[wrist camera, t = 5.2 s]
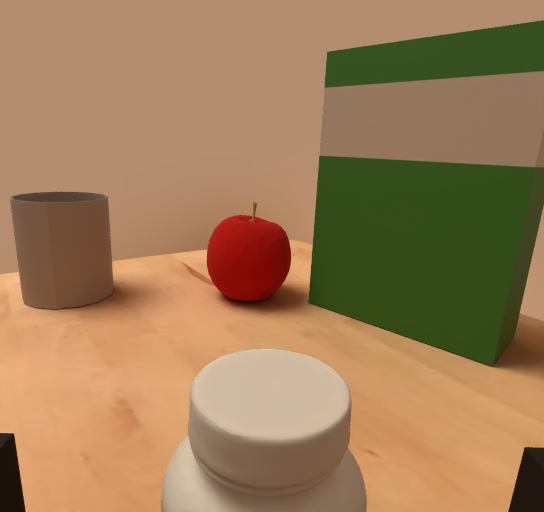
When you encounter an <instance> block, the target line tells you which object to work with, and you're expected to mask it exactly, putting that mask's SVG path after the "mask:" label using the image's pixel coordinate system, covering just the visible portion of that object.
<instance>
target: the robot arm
mask: <svg viewBox="0 0 544 512" xmlns="http://www.w3.org/2000/svg"><path fill="white" fill-rule="evenodd" d="M0 512H25V505H24V498H23V491H22V484H21V478H20V471H19V464H18V457H17V450H16V444H15V437H14V434H12V433H0ZM508 512H544V448H533V447H525V448H524V452H523V456H522V460H521V464H520V468H519V472H518V476H517V480H516V484H515V488H514V492H513V496H512V500H511V504H510V508H509V511H508Z"/></svg>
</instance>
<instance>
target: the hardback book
mask: <svg viewBox="0 0 544 512" xmlns="http://www.w3.org/2000/svg"><path fill="white" fill-rule="evenodd" d="M543 205H544V21H536V22H529V23H522V24H516V25H509V26H502V27H495V28H488V29H481V30H474V31H467V32H460V33H454V34H447V35H440V36H433V37H426V38H419V39H412V40H405V41H399V42H392V43H385V44H378V45H372V46H364V47H357V48H350V49H344V50H337V51H330V52H327V63H326V77H325V90H324V103H323V116H322V130H321V143H320V157H319V170H318V183H317V197H316V210H315V224H314V237H313V250H312V264H311V277H310V291H309V303H312V304H315V305H318V306H320V307H323V308H326V309H329V310H332V311H335V312H338V313H340V314H343V315H346V316H349V317H352V318H355V319H358V320H361V321H363V322H366V323H369V324H372V325H375V326H378V327H381V328H383V329H386V330H389V331H392V332H395V333H398V334H401V335H404V336H406V337H409V338H412V339H415V340H418V341H421V342H424V343H426V344H429V345H432V346H435V347H438V348H441V349H444V350H446V351H449V352H452V353H455V354H458V355H461V356H464V357H467V358H469V359H472V360H475V361H478V362H481V363H484V364H487V365H489V366H492V367H493V366H494V364H495V363H496V361H497V360H498V359H499V357H500V356H501V354H502V353H503V352H504V350H505V349H506V347H507V346H508V345H509V343H510V342H511V340H512V339H513V338H514V335H515V331H516V326H517V322H518V317H519V313H520V308H521V304H522V299H523V295H524V290H525V286H526V281H527V277H528V272H529V268H530V264H531V259H532V255H533V250H534V246H535V241H536V237H537V232H538V228H539V223H540V219H541V214H542V210H543Z"/></svg>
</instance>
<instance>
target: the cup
mask: <svg viewBox="0 0 544 512" xmlns="http://www.w3.org/2000/svg"><path fill="white" fill-rule="evenodd" d="M10 203H11V211H12V219H13V226H14V234H15V242H16V250H17V258H18V266H19V274H20V282H21V290H22V298H23V300H24V303H25V304H27V305H30V306H33V307H36V308H45V309H63V308H72V307H80V306H84V305H88V304H92V303H95V302H99V301H101V300H103V299H104V298H106V297H108V296H110V295H111V293H112V291H113V289H114V288H113V272H112V256H111V241H110V224H109V209H108V197H107V196H105V195H103V194H95V193H84V192H41V193H28V194H20V195H15V196H12V197H10Z"/></svg>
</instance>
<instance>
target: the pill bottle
mask: <svg viewBox="0 0 544 512" xmlns="http://www.w3.org/2000/svg"><path fill="white" fill-rule="evenodd" d="M350 420H351V395H350V391H349V388H348V385H347V383H346V382H345V380H344V379H343V378H342V376H341V375H340V374H339V373H338V372H336V371H335V370H334V369H333V368H332V367H330V366H329V365H327V364H325V363H324V362H322V361H320V360H318V359H316V358H314V357H311V356H308V355H304V354H301V353H297V352H293V351H288V350H281V349H268V348H267V349H252V350H243V351H239V352H235V353H231V354H227V355H225V356H222V357H220V358H217V359H216V360H214V361H212V362H211V363H209V364H207V365H206V366H205V367H204V368H203V369H202V370H201V371H200V372H199V373H198V375H197V376H196V378H195V379H194V381H193V384H192V388H191V393H190V415H189V423H188V436H187V437H186V438H185V439H184V440H183V441H182V443H181V444H180V445H179V447H178V448H177V450H176V451H175V453H174V454H173V456H172V458H171V460H170V462H169V465H168V468H167V471H166V474H165V478H164V483H163V490H162V512H366V490H365V484H364V480H363V476H362V473H361V471H360V468H359V466H358V464H357V462H356V460H355V458H354V456H353V455H352V453H351V452H350V450H349V449H348V445H349V440H350Z"/></svg>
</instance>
